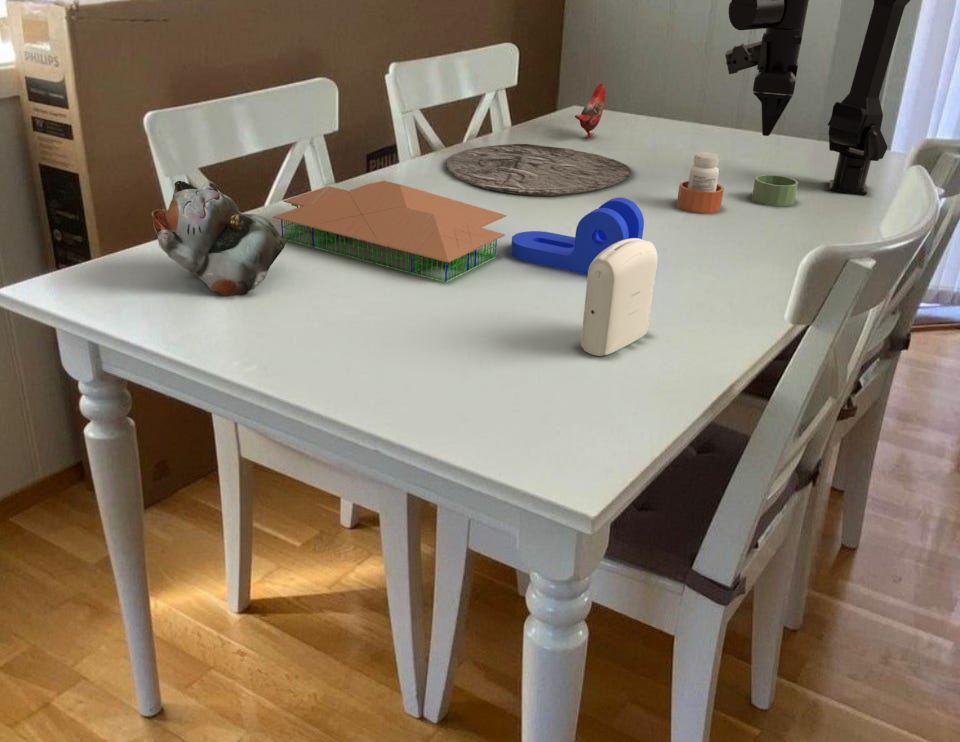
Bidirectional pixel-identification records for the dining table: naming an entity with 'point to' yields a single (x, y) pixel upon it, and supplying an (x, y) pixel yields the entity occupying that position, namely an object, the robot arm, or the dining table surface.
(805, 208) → the dining table surface
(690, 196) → the terracotta cup
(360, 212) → the house
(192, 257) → the lucky cat figurine
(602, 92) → the decorative bird figurine
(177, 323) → the dining table surface
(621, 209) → the bracket
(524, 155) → the worn metal disc
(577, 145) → the dining table surface
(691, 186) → the pill bottle
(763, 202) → the green cup
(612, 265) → the photo printer
